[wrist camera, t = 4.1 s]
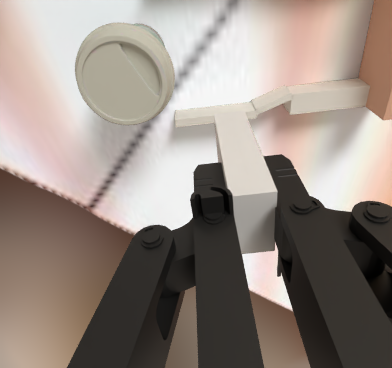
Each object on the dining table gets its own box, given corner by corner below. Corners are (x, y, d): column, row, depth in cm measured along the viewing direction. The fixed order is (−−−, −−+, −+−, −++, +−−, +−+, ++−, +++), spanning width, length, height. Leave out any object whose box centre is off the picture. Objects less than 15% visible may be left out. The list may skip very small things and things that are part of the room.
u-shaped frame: (176, 117, 39) (175, 142, 34) (151, -44, 30) (143, -47, 24) (377, 95, 38) (411, 117, 33) (422, -80, 28) (481, -93, 23)
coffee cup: (178, 88, 37) (176, 130, 27) (109, 88, 37) (82, 131, 27) (175, 8, 32) (171, 26, 22) (95, 9, 32) (56, 26, 22)
